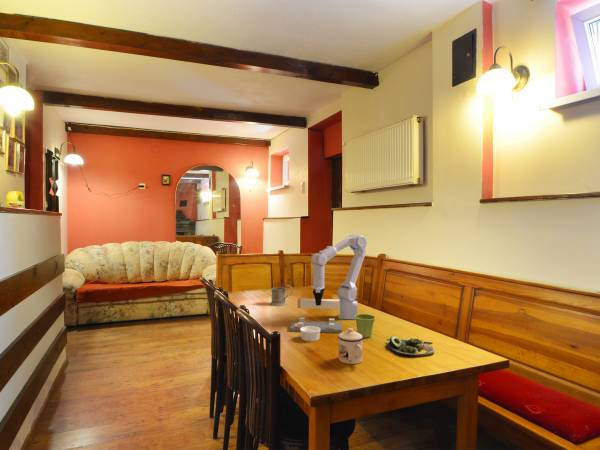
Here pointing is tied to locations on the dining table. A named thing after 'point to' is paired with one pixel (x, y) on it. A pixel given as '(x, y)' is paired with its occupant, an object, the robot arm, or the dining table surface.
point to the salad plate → (409, 347)
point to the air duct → (324, 305)
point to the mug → (279, 296)
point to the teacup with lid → (350, 347)
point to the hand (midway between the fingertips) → (318, 304)
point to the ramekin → (310, 333)
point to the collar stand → (324, 326)
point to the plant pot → (364, 324)
